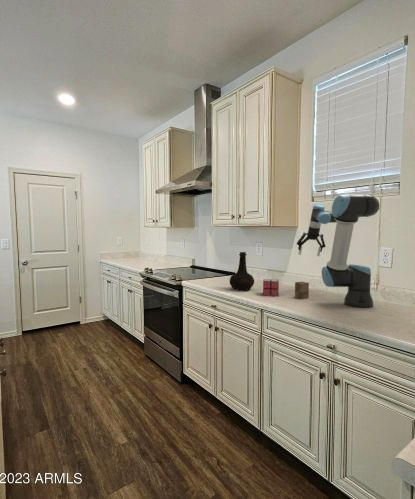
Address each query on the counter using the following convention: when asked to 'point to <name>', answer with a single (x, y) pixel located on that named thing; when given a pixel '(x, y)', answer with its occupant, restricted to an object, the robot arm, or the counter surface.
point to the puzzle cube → (270, 287)
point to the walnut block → (301, 290)
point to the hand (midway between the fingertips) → (308, 255)
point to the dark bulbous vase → (242, 276)
